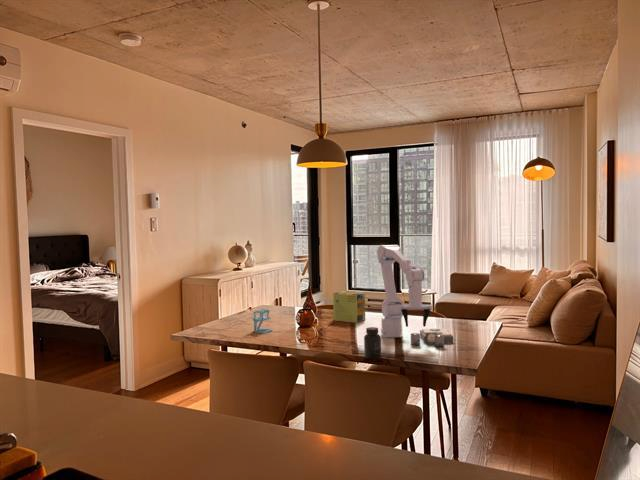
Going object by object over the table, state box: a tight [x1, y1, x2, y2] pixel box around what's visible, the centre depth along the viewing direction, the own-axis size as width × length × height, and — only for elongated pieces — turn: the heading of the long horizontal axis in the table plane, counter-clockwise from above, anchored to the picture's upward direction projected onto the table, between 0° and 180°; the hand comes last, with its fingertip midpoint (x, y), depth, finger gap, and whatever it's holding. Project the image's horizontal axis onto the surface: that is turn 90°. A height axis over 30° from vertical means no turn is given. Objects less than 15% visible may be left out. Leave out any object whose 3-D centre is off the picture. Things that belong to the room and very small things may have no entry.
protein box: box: [332, 290, 366, 324], centre depth 276 cm, size 10×15×16 cm
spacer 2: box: [434, 334, 445, 349], centre depth 214 cm, size 4×4×5 cm
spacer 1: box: [410, 332, 421, 347], centre depth 218 cm, size 4×4×5 cm
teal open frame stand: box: [252, 308, 273, 335], centre depth 250 cm, size 8×8×12 cm
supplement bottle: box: [363, 326, 382, 360], centre depth 199 cm, size 7×7×12 cm
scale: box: [419, 328, 454, 345], centre depth 226 cm, size 13×15×5 cm
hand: (415, 326), depth 218 cm, fingers open, 7 cm apart
